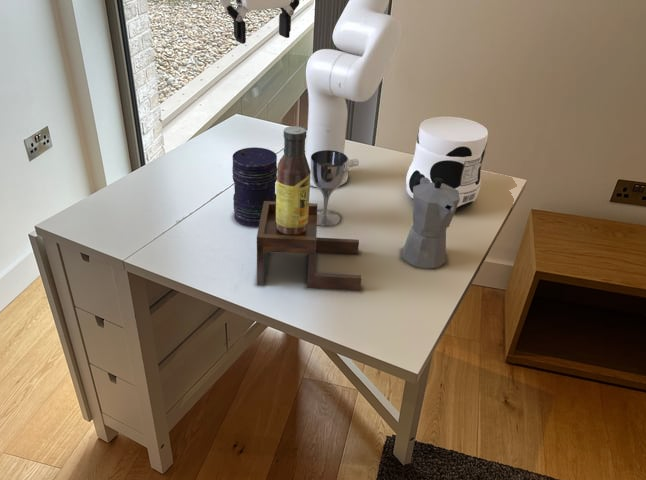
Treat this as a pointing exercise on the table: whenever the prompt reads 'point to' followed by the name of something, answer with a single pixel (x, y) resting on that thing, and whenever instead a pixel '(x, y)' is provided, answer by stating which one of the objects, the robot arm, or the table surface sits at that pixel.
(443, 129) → the milk container
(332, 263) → the table surface
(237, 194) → the dark blue cylinder
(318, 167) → the wine glass
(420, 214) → the coffeepot
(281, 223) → the sauce bottle
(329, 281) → the step rack
